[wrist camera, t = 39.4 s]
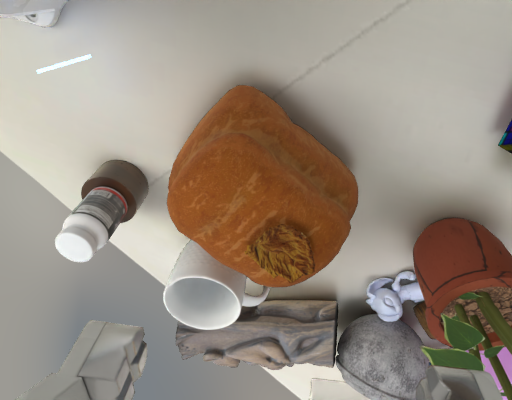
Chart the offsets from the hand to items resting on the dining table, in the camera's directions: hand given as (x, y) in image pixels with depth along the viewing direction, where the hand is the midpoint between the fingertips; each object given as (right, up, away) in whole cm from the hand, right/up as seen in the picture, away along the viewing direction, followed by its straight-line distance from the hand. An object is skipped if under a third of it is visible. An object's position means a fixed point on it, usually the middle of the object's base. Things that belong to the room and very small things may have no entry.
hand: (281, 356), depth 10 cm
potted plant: (+26, -2, +45) cm, 52 cm away
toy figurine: (+29, -9, +48) cm, 57 cm away
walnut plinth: (-21, +7, +45) cm, 51 cm away
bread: (+1, +10, +41) cm, 42 cm away
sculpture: (+14, -19, +51) cm, 56 cm away
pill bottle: (-22, +4, +41) cm, 47 cm away
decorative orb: (+21, -18, +45) cm, 53 cm away
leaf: (+1, +1, +28) cm, 28 cm away
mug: (-6, -3, +50) cm, 51 cm away
